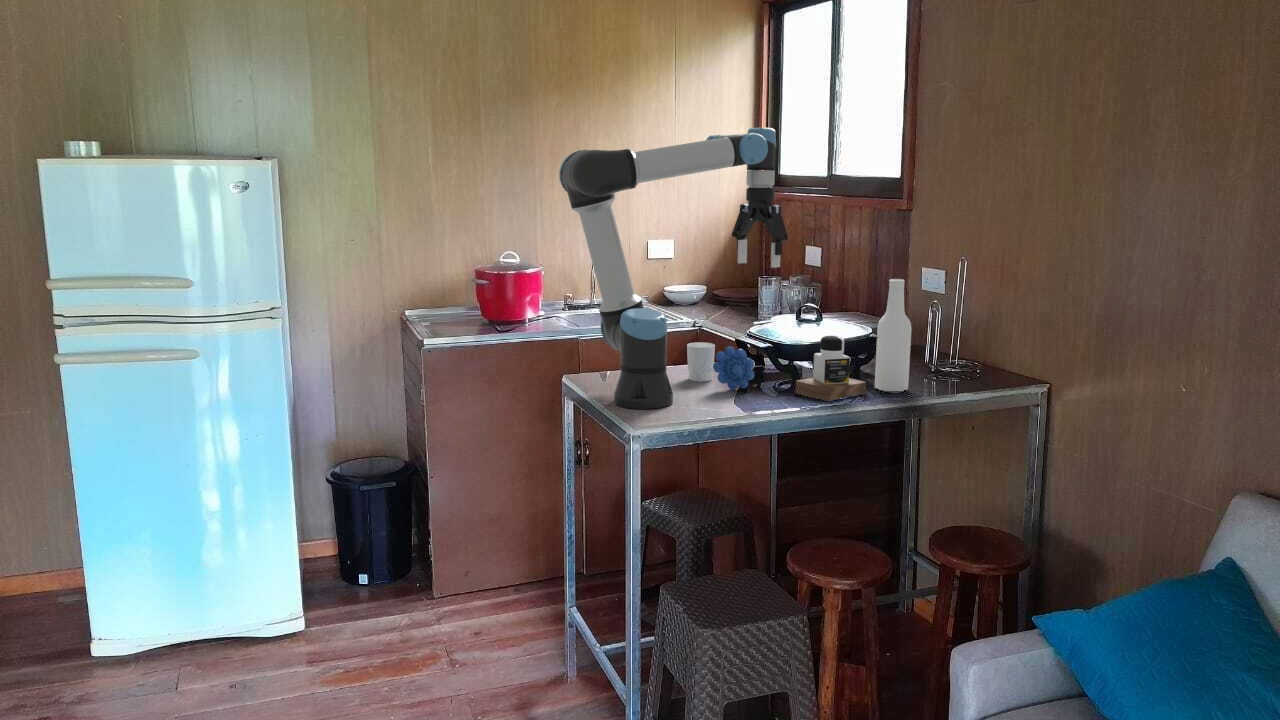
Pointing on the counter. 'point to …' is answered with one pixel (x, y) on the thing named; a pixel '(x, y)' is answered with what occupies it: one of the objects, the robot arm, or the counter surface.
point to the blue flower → (734, 368)
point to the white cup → (700, 361)
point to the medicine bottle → (831, 362)
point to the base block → (829, 389)
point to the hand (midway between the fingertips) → (758, 265)
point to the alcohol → (893, 342)
